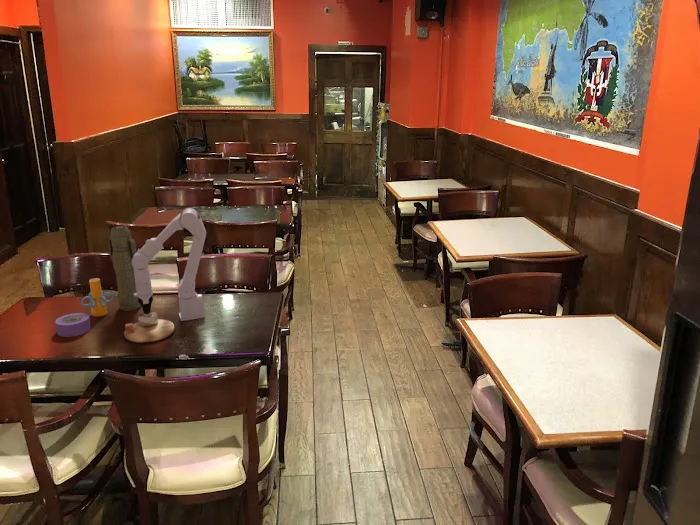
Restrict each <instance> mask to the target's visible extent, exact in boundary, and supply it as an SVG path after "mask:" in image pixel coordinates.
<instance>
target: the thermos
mask: <svg viewBox="0 0 700 525" xmlns="http://www.w3.org/2000/svg"><path fill="white" fill-rule="evenodd" d="M131 235H132V234H131V231H130V229H129V228H128V226H126V225H116V226H113V227H112V228H111V230H110V237H109V238H108V240H107V245H108V252H109V258H110V262H112V266H113V269H114V272H115V279H116V285H117V294H116V295H117V301H118V305H119V310H120V309H121V311H122V310H123V311H124V312H132V311H136V310H139V309H140V308H142V307H141V305H140V303H139V302H138V297H137V296H136V297H134V293H137V291H136V283H135V276H134V267H133V266H132V259H133V256H134V255H135V253H137V244H136V241H135V240H134V238H132V236H131ZM138 308H139V309H138Z"/></svg>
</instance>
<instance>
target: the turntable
mask: <svg viewBox="0 0 700 525" xmlns="http://www.w3.org/2000/svg"><path fill="white" fill-rule="evenodd" d="M174 332H175V324H174V323H173V321H170V320H168V319H162V318H161V319H160V318H158V324H157V325H156V326H153V327H149V328H143V327H140V326H139V321H138V322H135V323H133V322H131V323H125V330H124V331H123V333H124V337H125V338H124V339H126V340H127V341H130V342H132V343H150V342H151V343H152V342H156V341H160V340H163V339H166V338H167V337H169V336H171V335H172V334H173V333H174Z"/></svg>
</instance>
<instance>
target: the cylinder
mask: <svg viewBox="0 0 700 525" xmlns="http://www.w3.org/2000/svg"><path fill="white" fill-rule="evenodd" d="M88 281H89V288H90V292H89V293H88V296H84V297H83V298H81V302H80V303H81V305H82V306H84V307H90V312H91V316H92V317H95V318H96V317H98V318H99V317H103V316H106V315H107V314H108V313H109V312H108V307H107V306H108V303H111V302H112V301H113V300H114V297H115V296H114V294H113V293H112V292H109V291H108V292H105V291H104V290H102V285H101V279H100V278H98V277H95V278H90V279H89V280H88ZM106 295H109V296H111V298H110V299H109V300H107V299H106ZM86 299H89V303H88V304H87V303H86V304H85V303H84V301H85V300H86Z"/></svg>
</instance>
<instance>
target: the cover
mask: <svg viewBox="0 0 700 525" xmlns="http://www.w3.org/2000/svg"><path fill="white" fill-rule="evenodd" d="M137 318H138V322H139V326H140V327H143V328H149V327H153V326H156V325H157V324H158V319H159V318H158V313H157V312H153V311H151V312H146V313H144V312H143V313H140V314H139V315H138V316H137Z"/></svg>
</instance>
